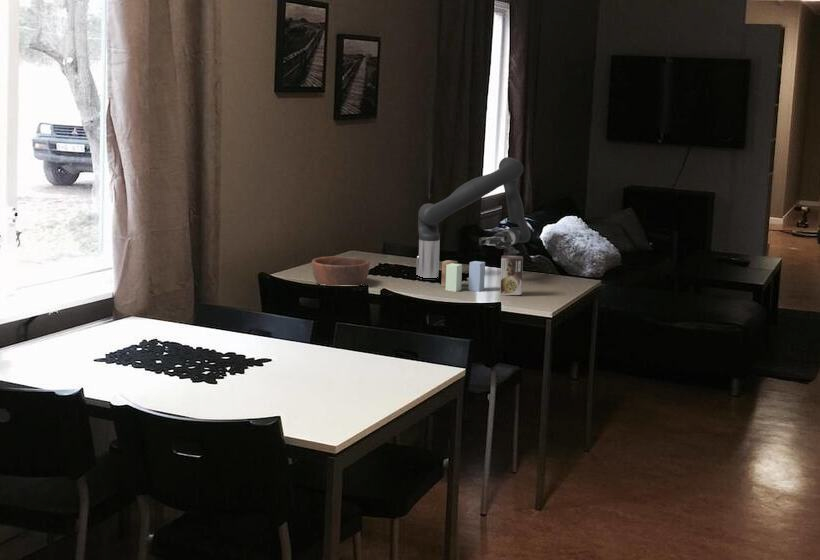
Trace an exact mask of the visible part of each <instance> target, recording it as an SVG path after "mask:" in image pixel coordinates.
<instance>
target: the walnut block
mask: <svg viewBox="0 0 820 560" xmlns="http://www.w3.org/2000/svg"><path fill="white" fill-rule="evenodd" d="M458 262H459V261H458V260H449V259H448V260H447V259H446V260H444V261H441V281H440V282H441V284H440V285H441V288H446V265H447V264H451V263H454V264H459V263H458Z"/></svg>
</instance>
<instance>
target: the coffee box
mask: <svg viewBox="0 0 820 560" xmlns="http://www.w3.org/2000/svg"><path fill="white" fill-rule="evenodd" d="M500 261H501V262H500V263H501V264H500V265H501V266H500V292H499V295H500V294H523V266H524V265H523V263H524V256H523V255H501V259H500Z"/></svg>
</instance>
